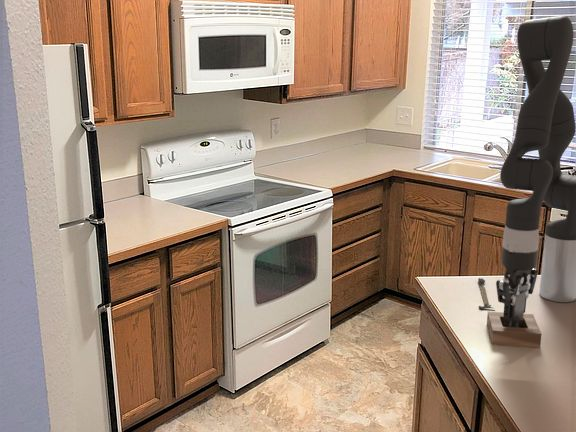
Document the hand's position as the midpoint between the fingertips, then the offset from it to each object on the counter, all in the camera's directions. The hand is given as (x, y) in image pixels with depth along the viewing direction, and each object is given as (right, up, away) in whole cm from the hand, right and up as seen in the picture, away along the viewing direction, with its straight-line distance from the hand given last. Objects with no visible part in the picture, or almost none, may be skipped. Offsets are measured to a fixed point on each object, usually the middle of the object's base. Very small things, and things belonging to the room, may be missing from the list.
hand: (514, 315), depth 143 cm
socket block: (0, -5, +1) cm, 5 cm away
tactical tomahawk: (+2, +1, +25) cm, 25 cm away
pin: (0, -4, +1) cm, 4 cm away
